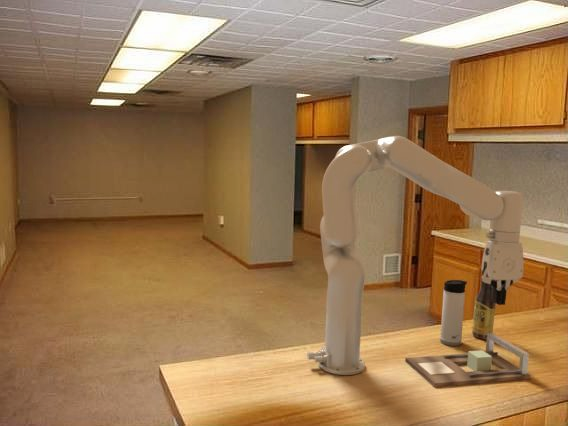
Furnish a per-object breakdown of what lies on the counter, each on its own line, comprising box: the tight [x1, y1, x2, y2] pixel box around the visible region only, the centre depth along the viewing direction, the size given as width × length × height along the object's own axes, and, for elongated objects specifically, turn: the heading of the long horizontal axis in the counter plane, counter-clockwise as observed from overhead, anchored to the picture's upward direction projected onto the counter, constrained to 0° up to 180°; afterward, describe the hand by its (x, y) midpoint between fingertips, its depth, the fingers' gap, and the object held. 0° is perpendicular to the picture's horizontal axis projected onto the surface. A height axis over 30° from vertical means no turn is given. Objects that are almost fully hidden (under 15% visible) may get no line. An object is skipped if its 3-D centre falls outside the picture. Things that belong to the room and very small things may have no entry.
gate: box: [485, 332, 530, 375], centre depth 141 cm, size 2×16×6 cm, turn 13°
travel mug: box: [439, 279, 468, 347], centre depth 158 cm, size 6×7×20 cm
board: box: [404, 351, 532, 388], centre depth 139 cm, size 28×16×2 cm, turn 103°
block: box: [466, 350, 492, 371], centre depth 140 cm, size 4×4×4 cm
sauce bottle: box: [471, 275, 497, 340], centre depth 164 cm, size 7×6×20 cm
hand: (498, 303), depth 139 cm, fingers closed
